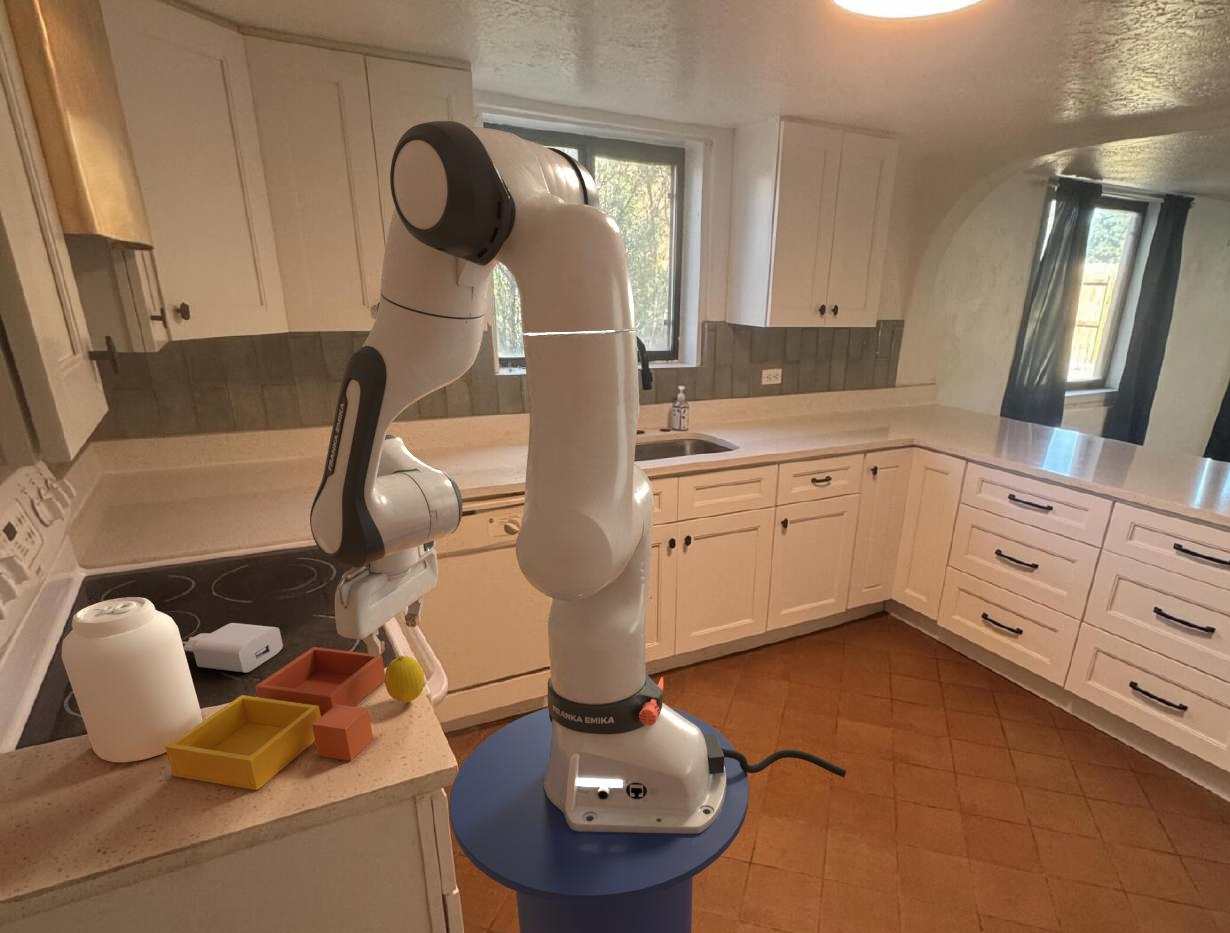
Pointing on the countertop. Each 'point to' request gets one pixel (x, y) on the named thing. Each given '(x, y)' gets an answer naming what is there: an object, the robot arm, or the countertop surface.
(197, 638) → the charger
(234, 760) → the yellow bin
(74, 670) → the can
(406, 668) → the lemon
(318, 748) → the block
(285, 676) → the terracotta bin
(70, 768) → the countertop surface
